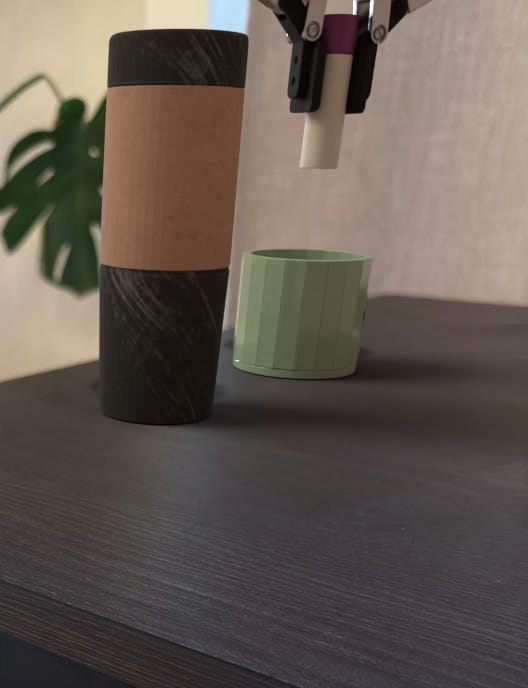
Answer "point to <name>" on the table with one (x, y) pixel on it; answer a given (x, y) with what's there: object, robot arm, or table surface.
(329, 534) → the table surface
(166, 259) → the travel mug
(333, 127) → the glue stick
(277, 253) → the cup
